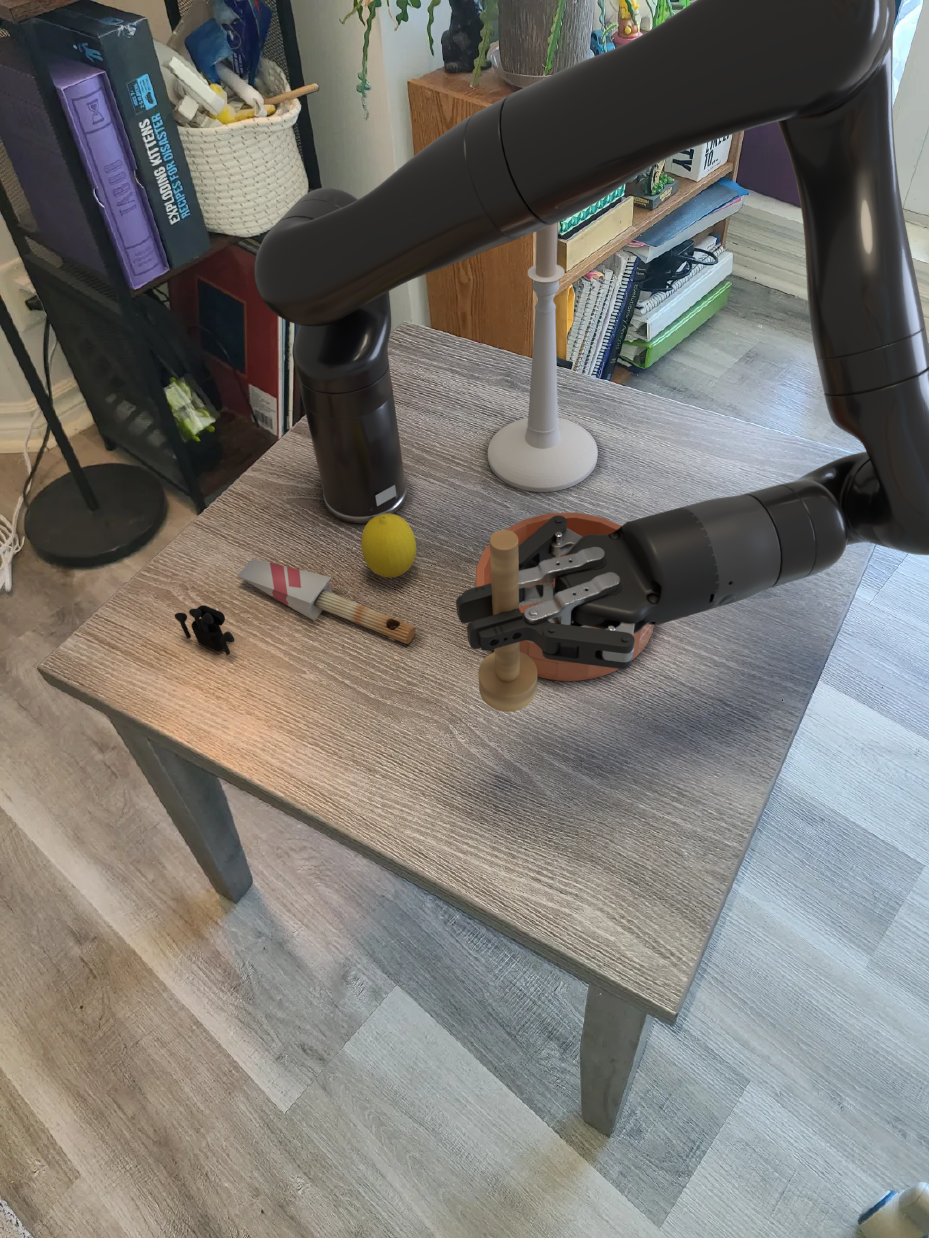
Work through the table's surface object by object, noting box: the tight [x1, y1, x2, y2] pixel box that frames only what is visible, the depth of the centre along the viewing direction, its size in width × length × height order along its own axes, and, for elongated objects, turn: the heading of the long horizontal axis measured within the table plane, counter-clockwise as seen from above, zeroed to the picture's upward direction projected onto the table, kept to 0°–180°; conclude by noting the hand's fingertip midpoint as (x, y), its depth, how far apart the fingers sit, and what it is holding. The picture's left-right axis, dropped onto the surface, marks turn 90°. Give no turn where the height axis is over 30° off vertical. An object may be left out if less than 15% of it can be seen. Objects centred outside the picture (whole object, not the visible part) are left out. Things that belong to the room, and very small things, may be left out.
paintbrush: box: [236, 557, 417, 645], centre depth 90 cm, size 4×3×20 cm
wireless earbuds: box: [174, 605, 235, 656], centre depth 87 cm, size 7×2×5 cm, turn 63°
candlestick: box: [487, 222, 599, 493], centre depth 93 cm, size 13×13×30 cm
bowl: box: [475, 512, 655, 682], centre depth 88 cm, size 18×18×5 cm
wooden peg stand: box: [477, 529, 538, 713], centre depth 62 cm, size 4×4×16 cm
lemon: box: [360, 513, 417, 578], centre depth 91 cm, size 6×6×8 cm
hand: (464, 623), depth 61 cm, fingers closed on wooden peg stand, 2 cm apart
